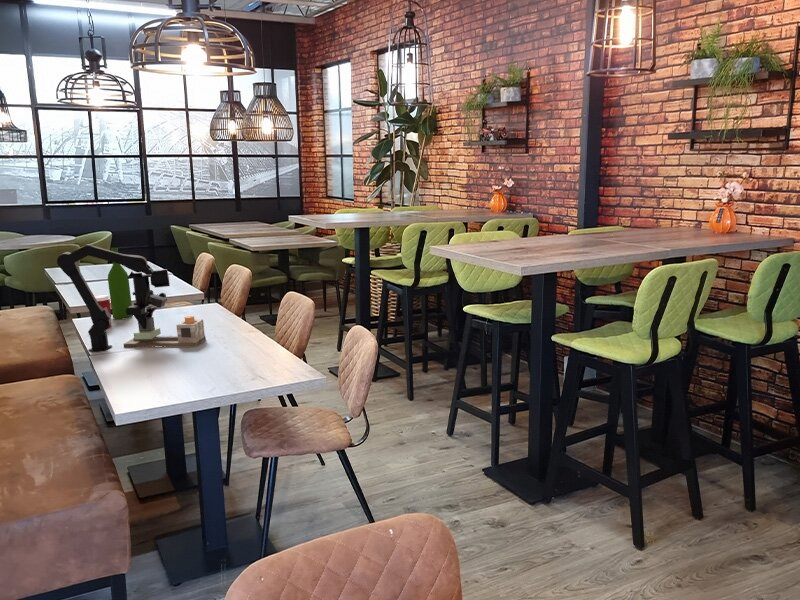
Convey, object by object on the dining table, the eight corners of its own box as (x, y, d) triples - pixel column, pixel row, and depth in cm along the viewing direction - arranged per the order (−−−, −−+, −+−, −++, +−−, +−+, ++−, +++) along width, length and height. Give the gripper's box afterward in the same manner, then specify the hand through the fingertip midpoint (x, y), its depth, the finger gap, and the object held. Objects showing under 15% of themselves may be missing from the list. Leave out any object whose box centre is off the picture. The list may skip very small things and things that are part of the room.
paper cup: (117, 325, 299) (113, 294, 296) (108, 329, 291) (104, 298, 289) (100, 325, 300) (96, 294, 297) (91, 329, 292) (87, 298, 289)
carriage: (151, 338, 260) (149, 320, 258) (134, 339, 261) (131, 320, 259) (160, 333, 268) (158, 315, 266) (144, 333, 268) (141, 315, 267)
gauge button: (193, 330, 260) (192, 318, 259) (184, 330, 260) (183, 318, 259) (197, 328, 263) (195, 316, 262) (188, 328, 264) (186, 316, 262)
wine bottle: (137, 315, 318) (129, 247, 312) (124, 319, 310) (116, 249, 303) (121, 314, 321) (112, 247, 314) (108, 319, 312) (99, 249, 306)
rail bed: (195, 346, 257) (193, 325, 256) (123, 347, 261) (121, 326, 259) (205, 339, 267) (203, 319, 265) (136, 340, 270) (133, 320, 269)
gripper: (150, 293, 250) (155, 333, 253) (172, 283, 268) (176, 321, 272) (122, 293, 251) (127, 333, 255) (145, 284, 270) (150, 322, 273)
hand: (146, 327), depth 263 cm, fingers closed on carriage, 3 cm apart
